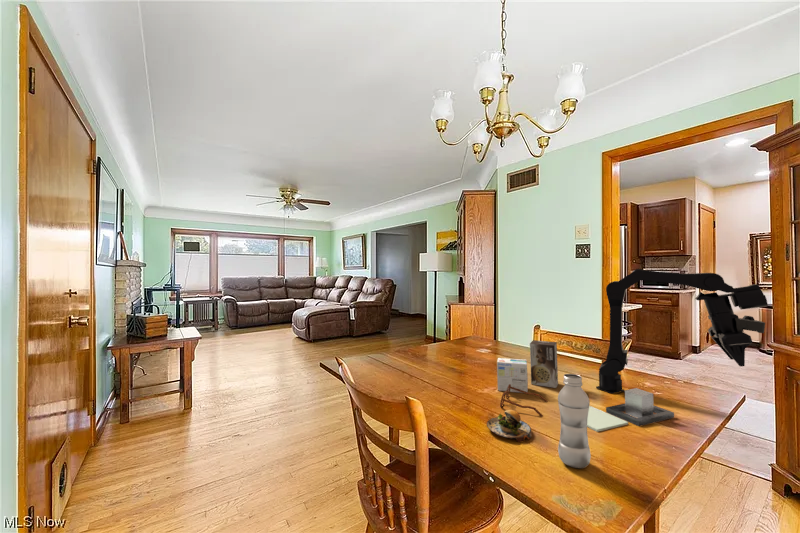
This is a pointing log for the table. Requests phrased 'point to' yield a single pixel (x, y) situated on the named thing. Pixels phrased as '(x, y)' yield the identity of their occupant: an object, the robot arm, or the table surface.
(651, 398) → the block
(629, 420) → the socket frame
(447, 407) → the table surface
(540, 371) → the coffee box
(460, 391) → the table surface
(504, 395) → the glasses
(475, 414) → the table surface
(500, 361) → the light bulb box
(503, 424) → the burger
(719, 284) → the robot arm
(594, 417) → the felt pad
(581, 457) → the plastic bottle
